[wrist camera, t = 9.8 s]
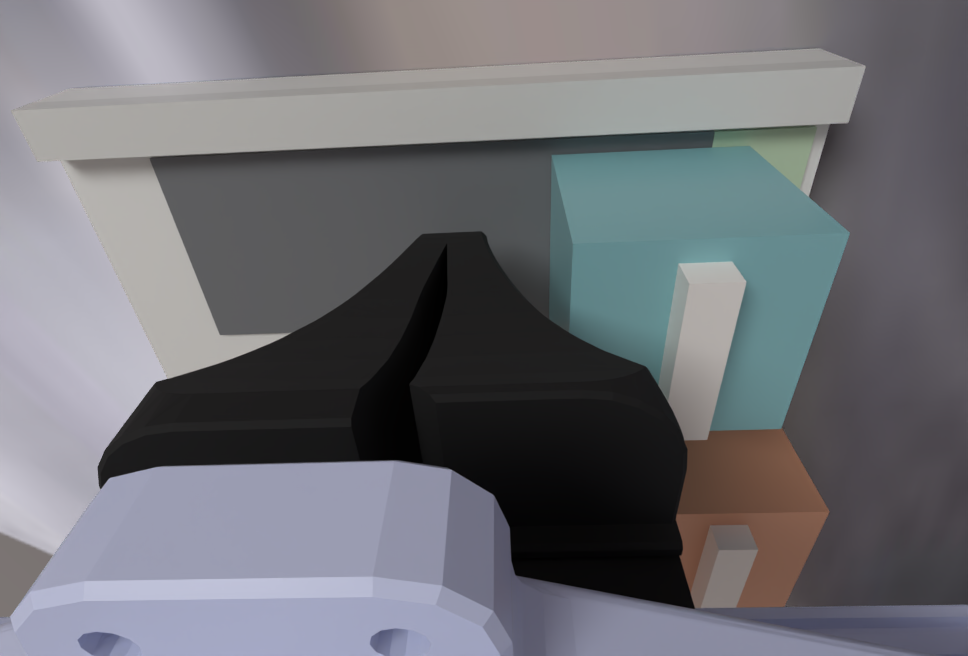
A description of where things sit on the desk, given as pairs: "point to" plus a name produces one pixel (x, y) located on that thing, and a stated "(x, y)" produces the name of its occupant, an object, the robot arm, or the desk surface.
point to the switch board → (385, 172)
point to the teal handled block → (693, 275)
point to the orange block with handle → (746, 518)
